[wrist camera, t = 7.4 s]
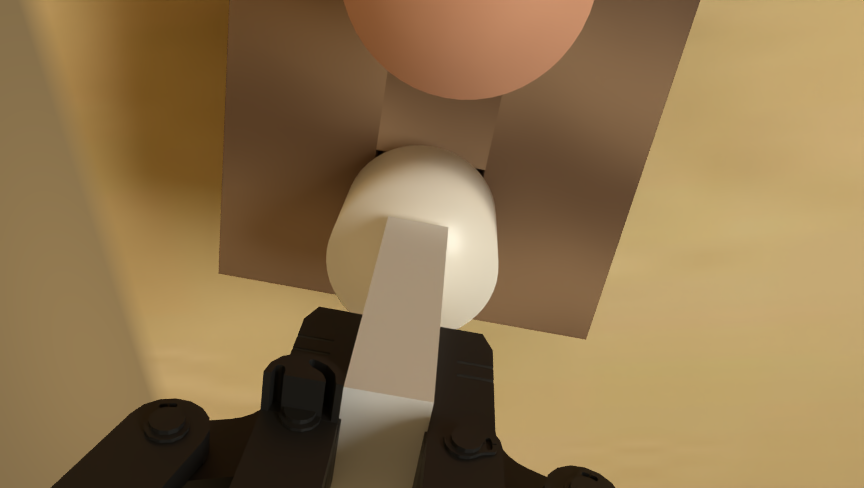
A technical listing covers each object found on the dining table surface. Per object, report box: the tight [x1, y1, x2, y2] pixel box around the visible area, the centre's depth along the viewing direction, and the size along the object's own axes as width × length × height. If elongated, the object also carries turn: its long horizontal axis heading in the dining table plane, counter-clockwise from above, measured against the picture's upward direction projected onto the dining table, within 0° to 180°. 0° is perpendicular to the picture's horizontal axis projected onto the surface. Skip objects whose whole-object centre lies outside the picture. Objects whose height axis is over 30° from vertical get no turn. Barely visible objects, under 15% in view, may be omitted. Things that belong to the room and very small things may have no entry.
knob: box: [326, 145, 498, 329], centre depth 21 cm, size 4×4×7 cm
